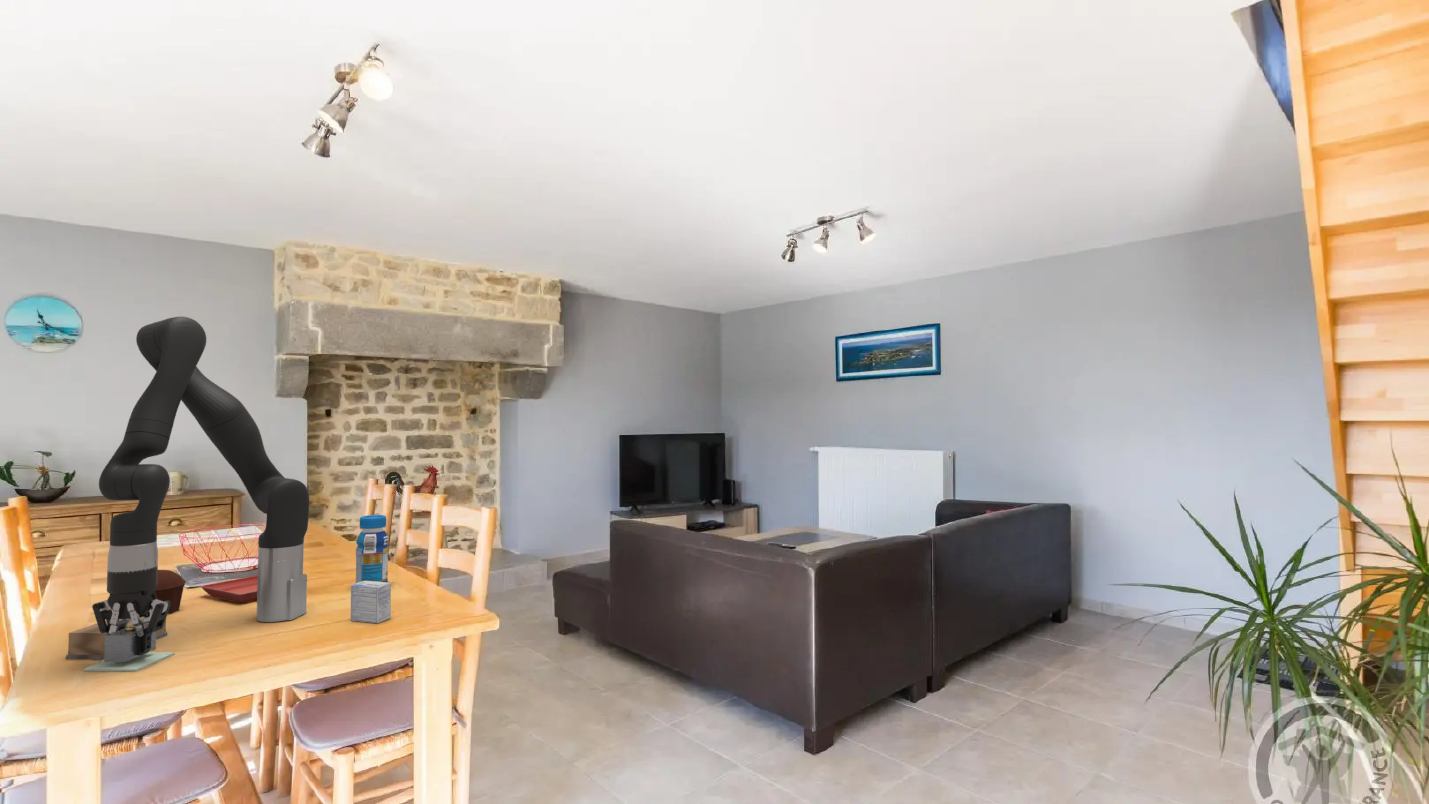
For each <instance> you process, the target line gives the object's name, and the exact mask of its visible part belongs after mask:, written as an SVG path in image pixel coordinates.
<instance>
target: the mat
mask: <svg viewBox="0 0 1429 804" xmlns="http://www.w3.org/2000/svg"><path fill="white" fill-rule="evenodd" d="M174 655H175V652H168V651H167V652H160V651H158V652H155V651H154V652H153V651H150V652H148V653H146V654H144V655H141V656H138V657H136V658H134V659H131V660H129V661H127V662H104V660H101V661H99V662H97V663H95V664H92V665H90V666H86V667H84V668H83V669H82V671H83V672H138V671H141V670H143V669H145V668H147V667H149V666H152V665H154V664H157V663H159V662H161V661H164V660H165V659H168V658H170V657H172V656H174Z"/></svg>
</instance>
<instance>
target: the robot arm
mask: <svg viewBox="0 0 1429 804" xmlns="http://www.w3.org/2000/svg"><path fill="white" fill-rule="evenodd" d="M136 333H137V334H136V337H135V338H136V345H137V348H138V350H139V352H140V353H141V355H142V357H143V358H144V360H146V362H147V363H149V366H151V367H152V368H153V369H154V370H155V374H154V375H153V378H152V379H151V381H150V383H149V384H148V386H147V387H146V388H145V390H144V392H142V394H141V396H140V397H139V399H138V400H137V401H136V403H135V405H134V407H133V409H132V411H131V413H130V416H129V419H128V421H127V426H126V429H125V433H124V436H123V439H122V441H121V443H120V445H119V446H118V447H117V449H116V450H115V452H114V454H113V455H112V456H111V458H110V459H109V461H108V462H107V463H106V465H105V466H104V468H103V470H102V471H101V474H100V476H99V479H98V488H99V491H100V493H101V495H102V496H103V497H104V498H105V499H108V500H110V501H138V504H137V506H136V507H135V509H134V510H131V511H127V512H122V513H118V514H116V515H115V514H114V515H113V517H112V518H111V520H110V522H109V523H110V526H109V549H108V553H107V562H106V563H107V564H106V565H107V572H106V574H107V575H106V592H107V594H109V595H108V597H107V599H105V600H101V601H99V602H95V603H93V604H92V606H91V607H92V611H93V614H94V617H95V620H96V624H98V627H99V630H100V632H101V633H108V634H110V633H113V632H116V631H118V630H121V629H124V628H125V627H127V624H128V622H129V621H130V620H132V624H133V626H135V627H136V631H137V635H138V637H137V655H144V654H146V653H148V652H149V650H150V649H151V635H152V633H153V632H155V631H158V630H160V629H162V628H163V625H164V622H165V620H166V621H167V616H168V615H169V614H168V611H169V609H170V606H171V602H170V601H165V602H163V601H160V600H157V597H156V595H155V588H156V586H157V578H158V570H159V569H158V567H159V549H158V520H159V516H160V515H161V514H160V513H161V510H162V508H163V504H164V502H165V499H166V496H167V493H168V491H169V488H170V483H171V478H170V474H169V473H168V470H167V469H166V468H165V467H164V466H162V465H160V464H157V463H150V464H149V463H146V464H142V461H144V460H146V459H147V458H152V457H157V456H159V455H162V454H164V453H165V452H166V451H167V449H168V446H169V443H170V439H171V434H172V431H173V427H174V423H175V419H176V416H177V412H178V409H179V406H180V404H181V402H182V403H183V405H184V406H185V407H186V409H188V411H189V412H190V414H191V415H192V417H194V419H195V420H196V422H197V423H198V425H199V426H200V428H201V429H202V430H203V432H204V433H205V434H206V436H207V437H208V440H210V441H211V443H212V444H213V445H214V446H215V448H216V449H217V451H219V453H220V454H221V455H222V457H223V458H224V459H225V461H227V463H228V464H229V466H231V468H232V469H233V470H234V472H236V474H237V475H238V477H239V479H240V481H241V482H242V484H243V486H244V487H245V489H246V490H247V493H248V494H249V496H250V498H251V500H252V502H253V503H254V505H255V506H256V508H257V509H258V510H259V511H260V512H262V513H263V514H265V515H266V522H265V523H266V525H265V529H264V531H263V532H262V533H260V534H259V535H258V540H257V541H258V542H257V543H258V545H257V546H258V548H257V549H258V550H257V552H258V553H257V575H258V580H257V600H256V621H258V622H262V623H275V622H283V621H292V620H294V619H296V618H299V617H300V616H303V615H304V614H307V598H308V597H307V593H308V592H307V591H308V588H307V587H308V583H307V582H308V581H307V580H308V574H306V573H304V549H305V548H304V547H305V546H304V545H305V543H304V542H305V536H306V534H307V531H308V526H309V518H310V517H309V516H310V515H309V514H310V513H309V512H310V493H309V489H308V488H307V485H306V484H304V483H303V482H302V481H300V480H297V479H294V478H288V477H286V478H285V477H284V476H283V474H282V473H281V472H280V471H279V470H278V468H277V467H276V466H275V465H274V463H273V462H272V461H271V459H270V458H269V456H268V454H267V453H266V450H265V446H264V442H263V438H262V435H261V432H260V429H259V427H258V425H257V423H256V421H255V420H254V418H253V417H252V415H251V414H250V413H249V411H248V409H247V407H245V406H244V404H243V403H242V402H241V401H240V400H239V399H238V398H237V397H235V396H234V395H233V394H232V393H230V392H229V391H227V390H225V388H222V387H220V386H219V385H218V384H217V383H215V382H213V381H211V380H210V379H209V378H208V377H207V376H205V374H204V373H202V370H200V369H199V368H198V366H197V365H198V363H199V361H200V359H201V357H202V356H203V353H204V350H205V348H206V345H207V334H206V331H205V329H204V327H203V326H202V325H201V324H200V323H199V322H198V321H197V320H195V319H193V318H192V317H191V318H190V317H187V316H173V317H169V318H168V317H167V318H166V319H162V320H158V321H155V322H152V323H149V324H145V325H144V326H142V327H141V328H139V330H138V331H137V332H136ZM140 463H141V464H140ZM152 607H153V609H152V610H151V608H152ZM152 612H153V614H152ZM141 617H144V618H143V619H140V618H141ZM105 620H106V621H107V624H108V625H107V624H106V621H105ZM143 624H144V625H143ZM144 626H145V629H144Z"/></svg>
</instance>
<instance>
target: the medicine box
mask: <svg viewBox="0 0 1429 804" xmlns="http://www.w3.org/2000/svg"><path fill="white" fill-rule="evenodd" d="M391 597H392V583H391V582H388V583H386V582H376V581H362V582H358V583H356V582H355V583H353V584H351V585H350V621H351V622H352V621H353V622H362V623H369V624H370V623H371V624H372V623H373V624H380V623H383V622H384V621H387V620H389V619H390V620H391V617H392V613H391V612H392V610H391V609H392V603H391V602H392V598H391Z"/></svg>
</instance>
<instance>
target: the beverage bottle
mask: <svg viewBox="0 0 1429 804" xmlns="http://www.w3.org/2000/svg"><path fill="white" fill-rule="evenodd" d="M386 527H387V515H384V514H370V515H362V516H361V517H359V530H361V531H360V533H359V534H358V536H357V537H356V541H355V542H356V545H357V547H356V549H355V583H358V582H362V581H376V582H386V583H389V580H388V578H389V574H388V573H389V553H390V546H389V544H388V543H389V541H390V539H389V536H388V534H387V532H386V531H385V528H386Z"/></svg>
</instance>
